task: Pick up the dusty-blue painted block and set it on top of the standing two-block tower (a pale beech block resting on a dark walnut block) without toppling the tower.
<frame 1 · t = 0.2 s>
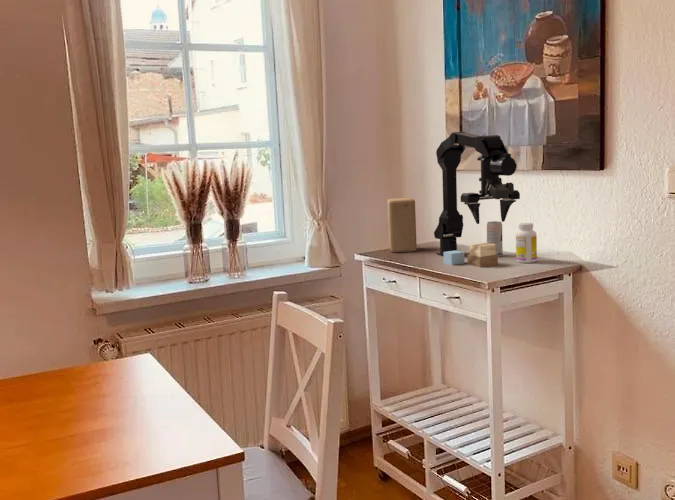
hand: (490, 222, 223), 14 cm above the table, fingers open, 9 cm apart
base block: (482, 265, 227), on the table, touching mid block
wooden block: (402, 250, 265), on the table
top block: (454, 263, 232), on the table
mid block: (482, 254, 227), point 3 cm above the table, touching base block
energy drink: (494, 256, 242), on the table
supplement bottle: (526, 262, 228), on the table
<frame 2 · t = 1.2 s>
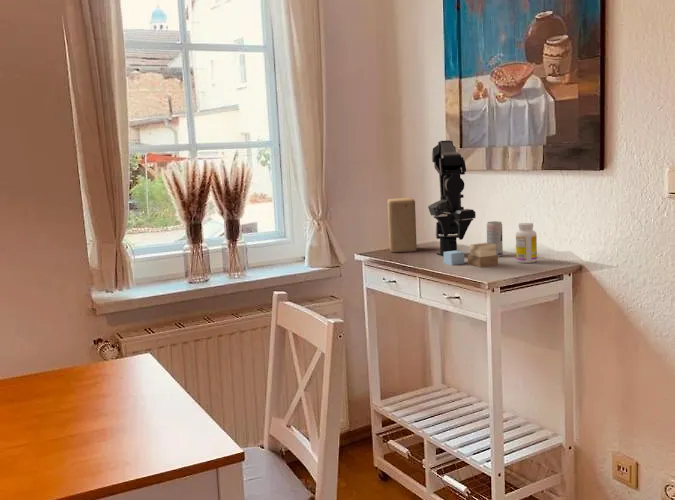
hand: (453, 238, 231), 9 cm above the table, fingers open, 9 cm apart
nothing on the table moved.
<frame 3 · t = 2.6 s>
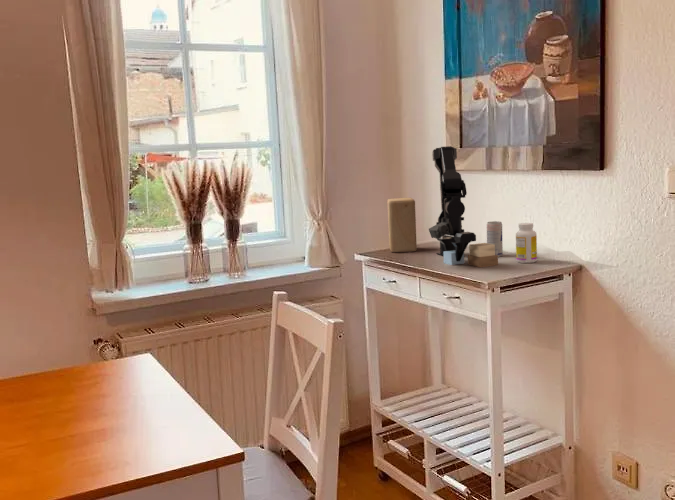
hand: (453, 260, 232), 1 cm above the table, fingers closed on top block, 5 cm apart
top block: (454, 263, 232), on the table, touching gripper
everything else where it was.
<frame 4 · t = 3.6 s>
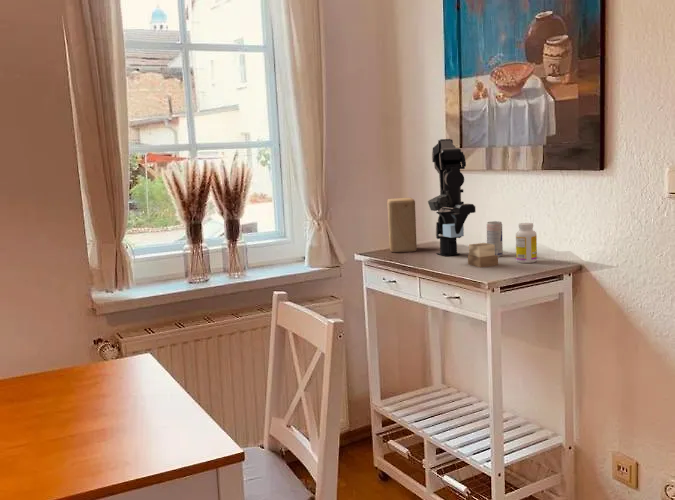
hand: (453, 233, 230), 10 cm above the table, fingers closed on top block, 5 cm apart
top block: (453, 236, 231), point 9 cm above the table, touching gripper
everything else where it was.
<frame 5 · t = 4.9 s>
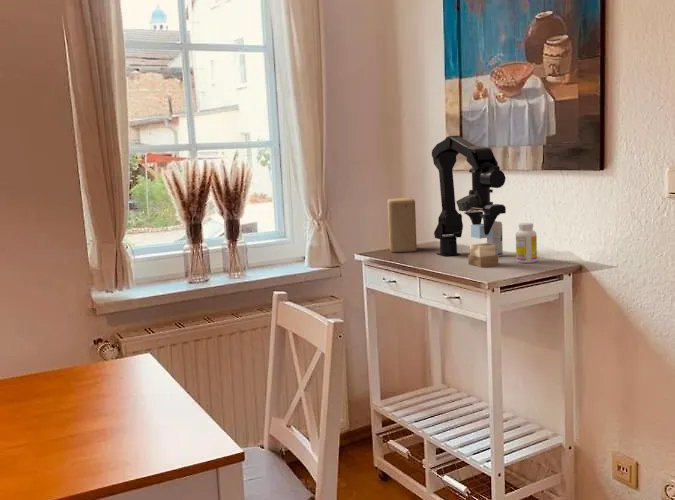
hand: (481, 233, 226), 10 cm above the table, fingers closed on top block, 5 cm apart
top block: (481, 237, 226), point 9 cm above the table, touching gripper
everything else where it was.
when the fingers open (9 cm above the table, at t = 5.5 s): top block drops 1 cm, resting on mid block.
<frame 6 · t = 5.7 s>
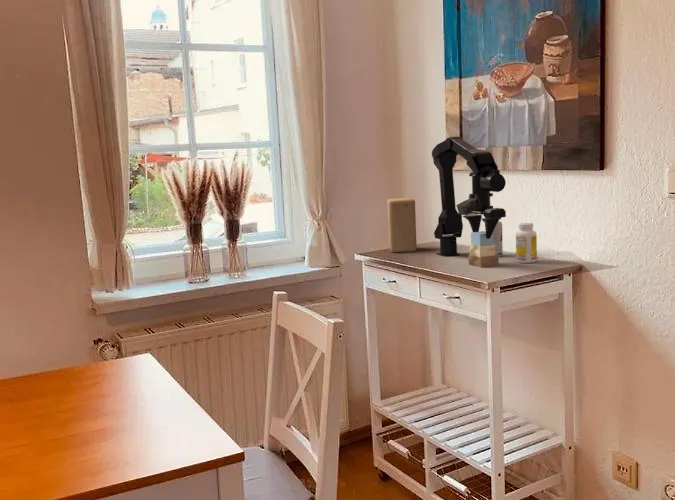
hand: (482, 237, 226), 9 cm above the table, fingers open, 7 cm apart
top block: (481, 244, 226), point 7 cm above the table, touching mid block
mid block: (482, 255, 227), point 3 cm above the table, touching base block, top block
everything else where it was.
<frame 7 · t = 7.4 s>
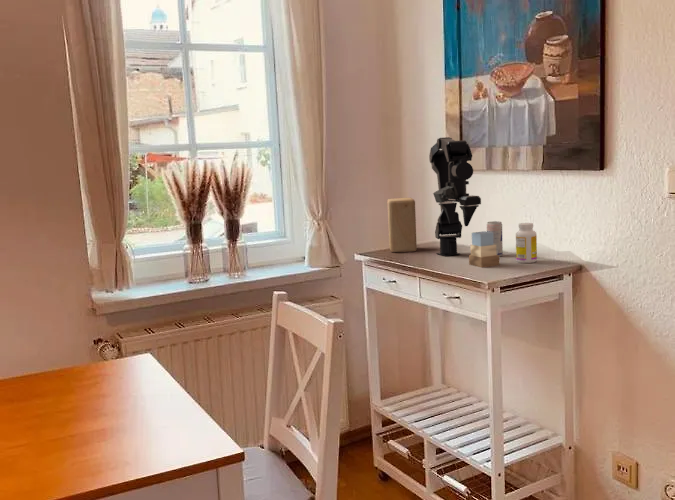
hand: (458, 224, 231), 13 cm above the table, fingers open, 9 cm apart
top block: (482, 244, 226), point 7 cm above the table
mid block: (483, 255, 226), point 3 cm above the table, touching base block
everything else where it was.
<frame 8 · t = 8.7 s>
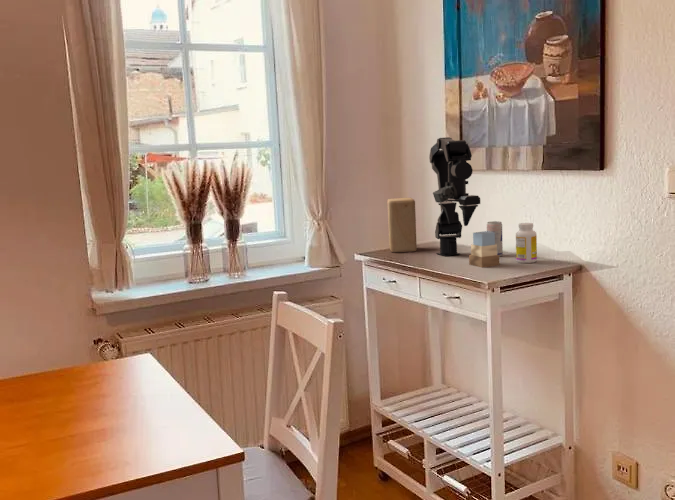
hand: (458, 224, 231), 13 cm above the table, fingers open, 9 cm apart
top block: (484, 244, 226), point 7 cm above the table, touching mid block
mid block: (484, 255, 226), point 3 cm above the table, touching base block, top block
everything else where it was.
at the end: top block 0.2 cm off-centre on the mid block, point 3.5 cm above the mid block's base; mid block 0.1 cm off-centre on the base block, point 3.5 cm above the base block's base; top block tilted 0° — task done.
